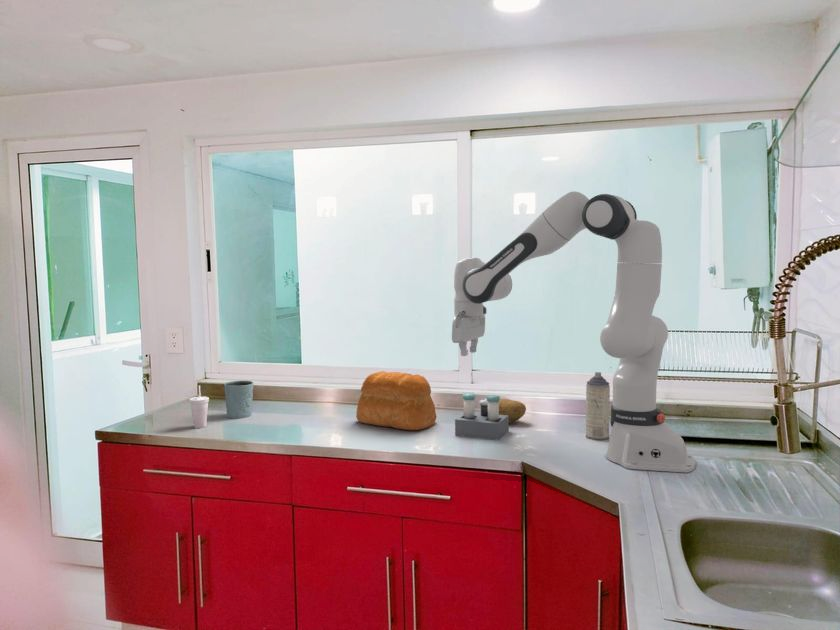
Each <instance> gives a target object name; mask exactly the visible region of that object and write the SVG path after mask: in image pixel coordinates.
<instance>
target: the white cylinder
mask: <svg viewBox="0 0 840 630" xmlns="http://www.w3.org/2000/svg"><path fill="white" fill-rule="evenodd" d="M462 399H463V414H464V418H474V412H475V399H476V394H475V393H473V392H472V393H471V392H468V393H467V392H466V393H463V394H462Z"/></svg>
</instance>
